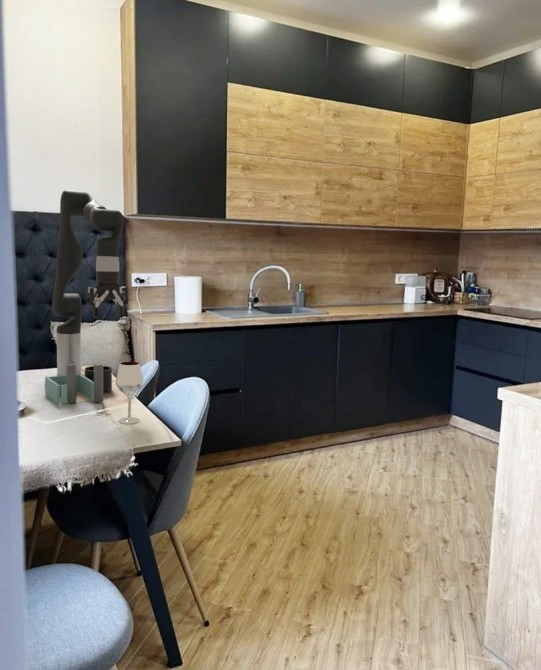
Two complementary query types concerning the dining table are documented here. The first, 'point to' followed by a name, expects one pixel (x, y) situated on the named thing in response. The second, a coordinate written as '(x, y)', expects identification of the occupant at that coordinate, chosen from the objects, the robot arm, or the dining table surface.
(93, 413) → the dining table surface
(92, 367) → the mug
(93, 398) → the flap far
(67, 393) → the flap near
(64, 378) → the teal open box
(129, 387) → the wineglass
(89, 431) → the dining table surface
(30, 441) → the dining table surface
